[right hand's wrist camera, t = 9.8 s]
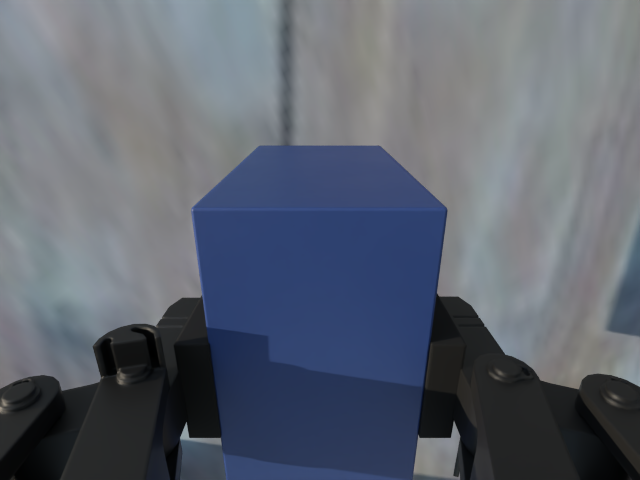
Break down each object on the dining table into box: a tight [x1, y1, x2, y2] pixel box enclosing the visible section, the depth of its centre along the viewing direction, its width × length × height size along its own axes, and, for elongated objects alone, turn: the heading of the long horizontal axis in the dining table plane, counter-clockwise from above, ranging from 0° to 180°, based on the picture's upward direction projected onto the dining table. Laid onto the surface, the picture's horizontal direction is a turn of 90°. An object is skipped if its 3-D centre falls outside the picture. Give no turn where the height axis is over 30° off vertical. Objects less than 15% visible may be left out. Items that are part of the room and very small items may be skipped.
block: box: [191, 146, 447, 480], centre depth 13 cm, size 9×5×8 cm, turn 0°
